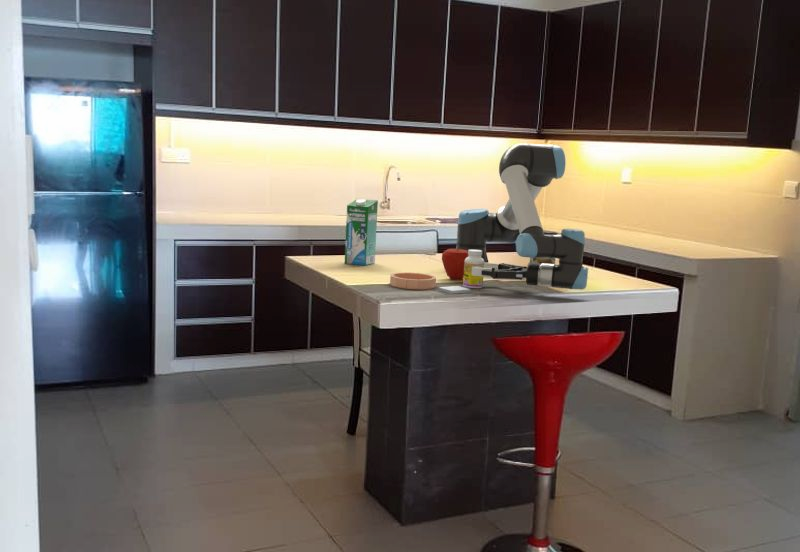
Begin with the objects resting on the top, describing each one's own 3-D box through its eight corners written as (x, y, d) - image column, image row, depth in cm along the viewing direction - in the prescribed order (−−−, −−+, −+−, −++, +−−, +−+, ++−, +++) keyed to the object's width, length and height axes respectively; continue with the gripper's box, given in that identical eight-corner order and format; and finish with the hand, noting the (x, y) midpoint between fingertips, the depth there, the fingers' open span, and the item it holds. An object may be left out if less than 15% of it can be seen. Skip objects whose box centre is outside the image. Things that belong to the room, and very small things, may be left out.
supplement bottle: (461, 285, 264) (463, 248, 262) (480, 286, 264) (483, 249, 262) (464, 289, 257) (467, 251, 255) (484, 290, 258) (486, 252, 256)
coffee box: (531, 272, 306) (535, 231, 304) (528, 269, 312) (531, 230, 310) (554, 273, 306) (558, 233, 304) (551, 270, 313) (554, 231, 310)
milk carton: (344, 263, 301) (347, 199, 297) (354, 260, 310) (357, 198, 306) (365, 265, 298) (368, 200, 294) (374, 263, 306) (378, 200, 302)
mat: (461, 289, 256) (462, 288, 256) (477, 294, 248) (477, 293, 248) (431, 291, 250) (431, 289, 250) (445, 296, 242) (446, 294, 242)
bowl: (420, 282, 266) (421, 272, 266) (443, 290, 253) (444, 279, 253) (382, 283, 259) (382, 273, 258) (404, 291, 246) (404, 280, 246)
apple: (435, 277, 278) (437, 244, 276) (461, 277, 282) (464, 244, 280) (449, 283, 268) (451, 248, 266) (476, 282, 272) (478, 248, 270)
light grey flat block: (457, 288, 254) (457, 285, 254) (470, 292, 249) (470, 289, 249) (438, 290, 249) (438, 287, 249) (451, 293, 244) (451, 290, 244)
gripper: (534, 291, 242) (468, 285, 248) (541, 280, 266) (481, 274, 272) (536, 268, 241) (469, 261, 247) (543, 258, 265) (482, 253, 270)
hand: (475, 268), depth 259 cm, fingers open, 13 cm apart
